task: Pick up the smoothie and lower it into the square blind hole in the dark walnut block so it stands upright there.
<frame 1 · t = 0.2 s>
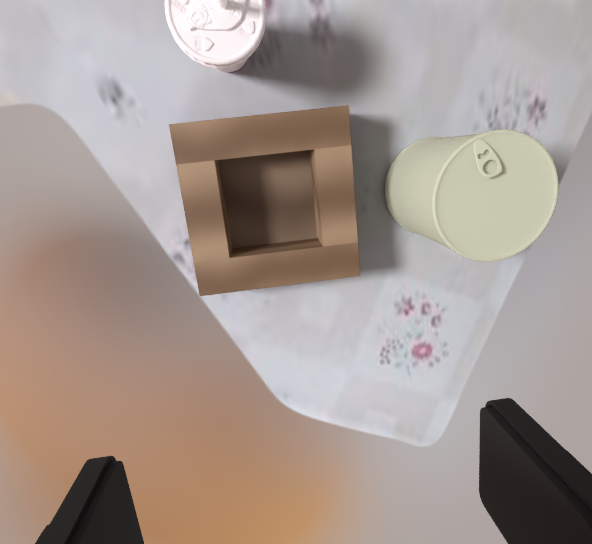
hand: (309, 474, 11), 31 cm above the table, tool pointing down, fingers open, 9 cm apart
smoothie: (227, 49, 36), on the table
socket block: (269, 199, 39), on the table
can: (430, 187, 40), on the table
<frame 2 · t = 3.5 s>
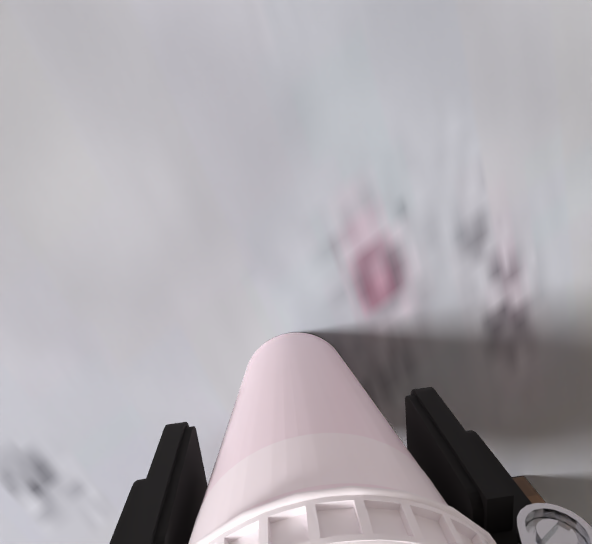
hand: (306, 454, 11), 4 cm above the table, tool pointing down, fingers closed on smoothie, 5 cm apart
smoothie: (294, 376, 16), on the table, touching gripper
when the fingers open (6 cm above the table, at t = 9.0 s): smoothie drops 1 cm, resting on socket block.
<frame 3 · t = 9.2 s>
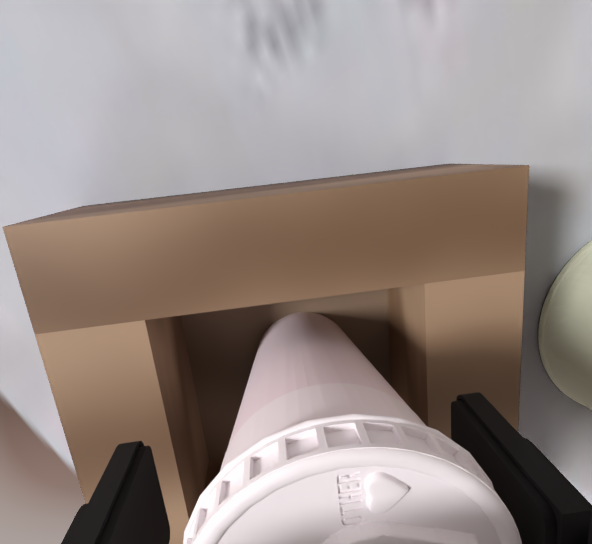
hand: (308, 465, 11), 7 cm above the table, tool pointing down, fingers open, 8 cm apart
smoothie: (302, 353, 17), point 1 cm above the table, touching socket block
socket block: (290, 351, 18), on the table
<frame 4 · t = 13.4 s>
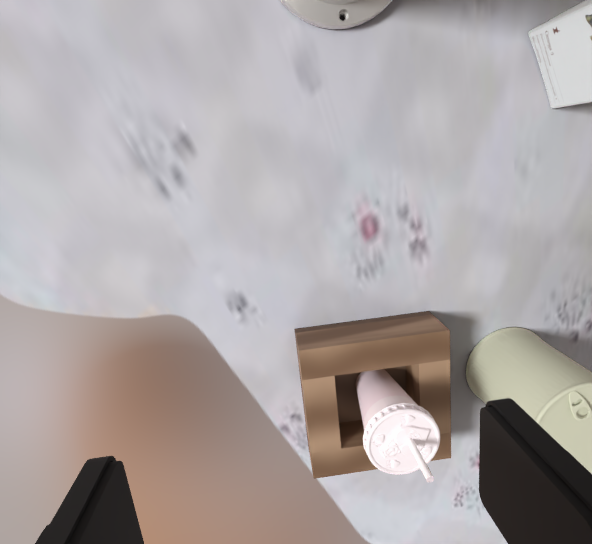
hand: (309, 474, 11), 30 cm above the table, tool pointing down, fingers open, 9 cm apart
smoothie: (372, 381, 44), point 1 cm above the table, touching socket block
socket block: (366, 380, 45), on the table
can: (505, 365, 46), on the table
supplement box: (572, 54, 38), on the table
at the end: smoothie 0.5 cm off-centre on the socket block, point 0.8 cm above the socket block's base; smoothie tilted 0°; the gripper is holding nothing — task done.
